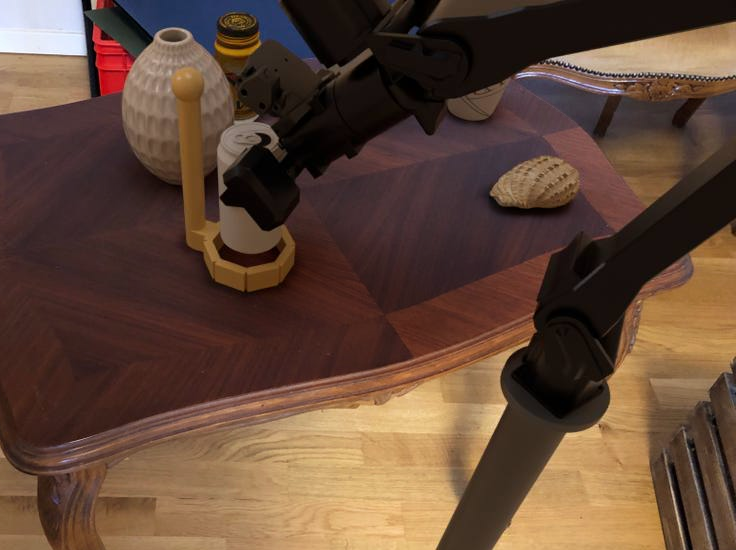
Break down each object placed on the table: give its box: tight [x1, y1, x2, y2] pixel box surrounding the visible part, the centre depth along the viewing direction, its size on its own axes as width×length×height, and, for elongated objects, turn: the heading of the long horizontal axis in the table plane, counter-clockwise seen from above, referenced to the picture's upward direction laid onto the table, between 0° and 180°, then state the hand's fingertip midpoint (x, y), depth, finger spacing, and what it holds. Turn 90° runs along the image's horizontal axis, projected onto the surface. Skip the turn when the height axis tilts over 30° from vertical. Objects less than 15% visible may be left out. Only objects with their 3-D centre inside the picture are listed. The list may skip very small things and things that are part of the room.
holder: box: [171, 67, 296, 293], centre depth 70 cm, size 13×9×20 cm
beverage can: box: [217, 121, 285, 255], centre depth 70 cm, size 6×6×12 cm
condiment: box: [213, 11, 262, 125], centre depth 92 cm, size 7×8×12 cm
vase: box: [121, 27, 235, 186], centre depth 81 cm, size 13×13×17 cm
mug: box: [447, 77, 512, 122], centre depth 94 cm, size 11×8×10 cm
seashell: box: [488, 154, 581, 209], centre depth 83 cm, size 8×6×10 cm
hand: (238, 182), depth 70 cm, fingers closed on beverage can, 6 cm apart
